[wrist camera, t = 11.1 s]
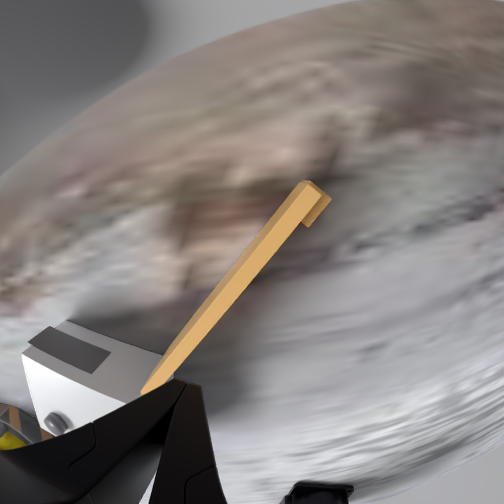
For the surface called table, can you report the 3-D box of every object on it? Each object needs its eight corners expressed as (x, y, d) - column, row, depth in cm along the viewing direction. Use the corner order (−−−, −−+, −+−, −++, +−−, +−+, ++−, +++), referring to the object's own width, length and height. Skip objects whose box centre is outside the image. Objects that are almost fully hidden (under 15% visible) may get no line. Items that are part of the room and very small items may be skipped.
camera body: (198, 365, 21) (170, 428, 15) (187, 433, 23) (166, 491, 17) (61, 317, 22) (9, 355, 15) (69, 388, 24) (31, 429, 17)
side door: (177, 363, 21) (148, 415, 16) (163, 352, 21) (130, 403, 15) (317, 193, 18) (335, 200, 12) (301, 179, 18) (311, 180, 12)
